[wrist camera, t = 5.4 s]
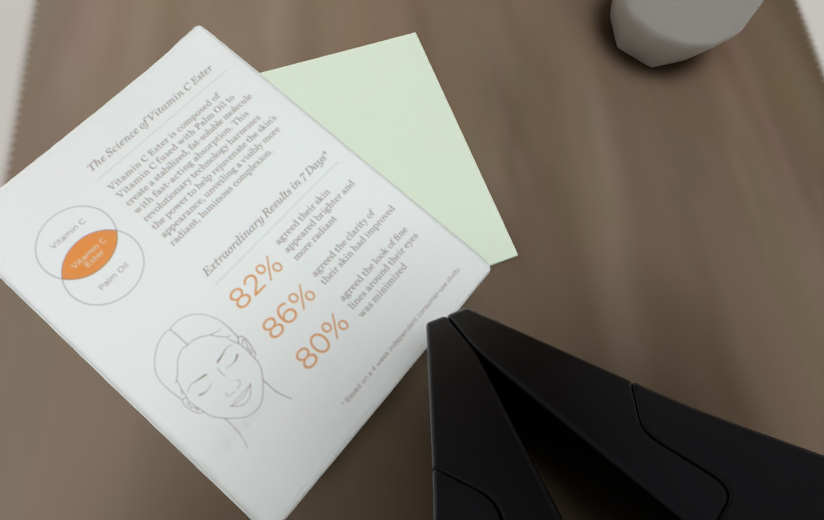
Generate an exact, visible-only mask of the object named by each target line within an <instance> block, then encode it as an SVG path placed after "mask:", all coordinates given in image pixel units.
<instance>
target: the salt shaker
mask: <svg viewBox="0 0 824 520" xmlns="http://www.w3.org/2000/svg"><path fill="white" fill-rule="evenodd" d="M763 1H764V0H612V5H611V12H610V19H611V23H612V27H613V32H614V36H615V40H616V45H617V48H619V49H620V50H622V51H624V52H625V53H627V54H629V55H630V56H632V57H634V58H635V59H637V60H639V61H641V62H642V63H644V64H646V65H647V66H649V67H651V68H652V67H657V66H661V65H666V64H671V63H675V62H680V61H684V60H687V59H689V58H691V57H693V56H695V55H698V54H700V53H702V52H704V51H706V50H709V49H711V48H713V47H715V46H717V45H719V44H721V43H724V42H726V41H728V40H730V39H731V38H733V37H734V36H735V35H737V34H738V33H739V32H741V31H742V29H743V28H744V27H745V25H746V24H747V23H748V21H749V20H750V19H751V17H752V16H753V14H754V13H755V12H756V10H757V9H758V8H759V6H760V5H761V3H762V2H763Z"/></svg>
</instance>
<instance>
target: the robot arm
mask: <svg viewBox="0 0 824 520" xmlns="http://www.w3.org/2000/svg"><path fill="white" fill-rule="evenodd" d="M426 334H427V357H428V380H429V402H430V425H431V448H432V469H433V474H432V478H433V516H434V520H824V455H821V454H818V453H815V452H812V451H810V450H807V449H804V448H801V447H798V446H796V445H793V444H790V443H787V442H784V441H782V440H779V439H776V438H773V437H770V436H768V435H765V434H762V433H759V432H756V431H753V430H751V429H748V428H745V427H742V426H739V425H737V424H734V423H731V422H729V421H726V420H723V419H721V418H718V417H715V416H713V415H710V414H707V413H705V412H702V411H699V410H697V409H694V408H692V407H689V406H687V405H685V404H682V403H680V402H678V401H675V400H673V399H670V398H668V397H666V396H663V395H661V394H659V393H656V392H654V391H652V390H649V389H647V388H645V387H643V386H641V385H638V384H636V383H633V384H632V385H631V382H630V381H629V380H627V379H624V378H622V377H620V376H618V375H615V374H613V373H611V372H609V371H607V370H604V369H602V368H600V367H598V366H595V365H593V364H591V363H589V362H586V361H584V360H582V359H580V358H577V357H575V356H573V355H571V354H568V353H566V352H564V351H562V350H560V349H557V348H555V347H553V346H551V345H548V344H546V343H544V342H542V341H539V340H537V339H535V338H533V337H530V336H528V335H526V334H524V333H521V332H519V331H517V330H515V329H513V328H510V327H508V326H506V325H504V324H501V323H499V322H497V321H495V320H492V319H490V318H488V317H486V316H483V315H481V314H479V313H477V312H474V311H472V310H470V309H466V308H465V309H461V310H459V311H456V312H453V313H451V314H449V315H448V316H447V317H440V318H438V319H435V320H432V321H430V322H428V323H427V325H426Z"/></svg>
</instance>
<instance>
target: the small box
mask: <svg viewBox="0 0 824 520" xmlns="http://www.w3.org/2000/svg"><path fill="white" fill-rule="evenodd" d="M489 272H490V266H489V264H488V263H487V261H486V260H485V259H484V258H483V257H481V256H480V255H479V254H478V253H477V252H476V251H474V250H473V249H472V248H471V247H470V246H468V245H467V244H466V243H465V242H464V241H462V240H461V239H460V238H458V237H457V236H456V235H455V234H454V233H452V232H451V231H450V230H449V229H448V228H446V227H445V226H444V225H443V224H441V223H440V222H439V221H438V220H436V219H435V218H434V217H433V216H432V215H430V214H429V213H428V212H427V211H425V210H424V209H423V208H422V207H420V206H419V205H418V204H417V203H416V202H414V201H413V200H412V199H411V198H410V197H408V196H407V195H406V194H405V193H404V192H402V191H401V190H400V189H399V188H397V187H396V186H395V185H394V184H393V183H392V182H390V181H389V180H388V179H386V178H385V177H384V176H383V175H382V174H380V173H379V172H378V171H377V170H375V169H374V168H373V167H372V166H370V165H369V164H368V163H367V162H365V161H364V160H363V159H362V158H361V157H359V156H358V155H357V154H356V153H355V152H353V151H352V150H351V149H350V148H349V147H347V146H346V145H345V144H344V143H343V142H341V141H340V140H339V139H338V138H337V137H335V136H334V135H333V134H332V133H331V132H329V131H328V130H327V129H326V128H325V127H323V126H322V125H321V124H320V123H319V122H317V121H316V120H315V119H314V118H313V117H311V116H310V115H309V114H308V113H306V112H305V111H304V110H303V109H302V108H301V107H299V106H298V105H297V104H296V103H295V102H293V101H292V100H291V99H290V98H288V97H287V96H286V95H285V94H284V93H283V92H281V91H280V90H279V89H278V88H277V87H276V86H274V85H273V84H272V83H271V82H270V81H268V80H267V79H266V78H265V77H264V76H262V75H261V74H260V73H259V72H258V71H257V70H255V69H254V68H253V67H251V66H250V65H249V64H248V63H247V62H245V61H244V60H243V59H242V58H240V57H239V56H238V55H237V54H235V53H234V52H233V51H232V50H231V49H229V48H228V47H227V46H226V45H225V44H224V43H222V42H221V41H220V40H218V39H217V38H216V37H215V36H214V35H213V34H211V33H210V32H208V31H207V30H206V29H204V28H203V27H201V26H196V27H194V28H193V29H192V30H191V31H190V32H189V33H188V34H187V35H186V36H185V37H183V38H182V39H181V40H180V41H179V42H178V43H177V44H175V45H174V46H173V48H172V49H171V50H170V51H169V52H168V53H167V54H165V55H164V56H163V57H162V58H161V59H160V60H158V61H157V62H156V63H155V64H154V65H153V66H151V67H150V68H149V69H148V70H147V71H146V72H144V73H143V74H142V75H140V76H139V77H138V78H137V79H135V80H134V81H133V82H132V83H131V84H129V85H128V86H127V87H126V88H125V89H123V90H122V91H121V92H120V93H119V94H117V95H116V96H115V97H114V98H112V99H111V100H110V101H109V102H107V103H106V104H105V105H104V106H103V107H102V108H100V109H99V110H98V111H97V112H95V113H94V114H93V115H91V116H90V117H89V118H87V119H86V120H85V121H84V122H82V123H81V124H80V125H79V126H78V127H76V128H75V129H74V130H73V131H71V132H70V133H69V134H67V135H66V136H65V137H64V138H63V139H62V140H60V141H59V142H58V143H56V144H55V145H54V146H53V147H52V148H50V149H49V150H48V151H47V152H45V153H44V154H43V155H41V156H40V157H39V158H38V159H36V160H35V161H34V162H33V163H31V164H30V165H29V166H27V167H26V168H25V169H24V170H23V171H21V172H20V173H19V174H18V175H16V176H15V177H14V178H13V179H11V180H10V181H9V182H8V183H6V184H5V185H4V186H2V187H1V188H0V278H1V279H2V280H3V281H4V282H5V283H6V284H7V285H8V286H9V287H10V288H11V289H12V290H13V291H14V292H15V293H16V294H17V295H18V296H20V297H21V298H22V299H23V300H24V301H25V302H26V303H27V304H28V305H29V306H30V307H31V308H32V309H33V310H34V311H35V312H36V313H37V314H38V315H39V316H40V317H42V318H43V319H44V320H45V321H46V322H47V323H48V324H49V325H50V326H51V327H52V328H53V329H54V330H55V331H56V332H57V333H58V334H59V335H60V336H61V337H62V338H63V339H64V340H65V341H66V342H67V343H68V344H69V345H70V346H71V347H72V348H73V349H74V350H75V351H76V352H77V353H78V354H79V355H80V356H81V357H82V358H83V359H85V360H86V361H87V362H88V363H89V364H90V365H91V366H92V367H93V368H94V369H95V370H96V371H97V372H98V373H99V374H100V375H101V376H102V377H103V378H104V379H105V380H106V381H107V382H108V383H109V384H110V385H111V386H112V387H113V388H114V389H116V390H117V391H118V392H119V393H120V394H121V395H122V396H123V397H124V398H125V399H126V400H127V401H128V402H129V403H130V404H131V405H132V406H133V407H134V408H135V409H137V410H138V411H139V412H140V413H141V414H142V415H143V416H144V417H145V418H146V419H147V420H148V421H149V422H150V423H151V424H152V425H153V426H154V427H155V428H156V429H157V430H158V431H159V432H160V433H161V434H162V435H164V436H165V437H166V438H167V439H168V440H169V441H170V442H171V443H172V444H173V445H174V446H175V447H176V448H177V449H178V450H179V451H180V452H181V453H183V454H184V455H185V456H186V457H187V458H188V459H189V460H190V461H191V462H192V463H193V464H194V465H195V466H196V467H197V468H198V469H199V470H200V471H201V472H202V473H203V474H204V475H205V476H206V477H207V478H208V479H210V480H211V481H212V482H213V483H214V484H215V485H216V486H217V487H218V488H219V489H220V490H221V491H222V492H223V493H224V494H225V495H226V496H227V497H228V498H229V499H230V500H231V501H233V502H234V503H235V504H236V505H237V506H238V507H239V508H240V509H241V510H242V511H243V512H244V513H245V514H246V515H247V516H248V517H249V518H250V519H251V520H285V519H286V518H287V517H288V516H289V515H290V513H291V512H292V511H293V510H294V509H295V507H296V506H297V505H298V504H299V503H300V501H301V500H302V499H303V498H304V497H305V495H306V494H307V493H308V492H309V490H310V489H311V488H312V487H313V486H314V484H315V483H316V482H317V481H318V479H319V478H320V477H321V476H322V475H323V473H324V472H325V471H326V470H327V469H328V467H329V466H330V465H331V464H332V463H333V461H334V460H335V459H336V458H337V457H338V455H339V454H340V453H341V452H342V451H343V449H344V448H345V447H346V446H347V445H348V443H349V442H350V441H351V440H352V439H353V437H354V436H355V435H356V434H357V433H358V431H359V430H360V429H361V428H362V426H363V425H364V424H365V423H366V422H367V420H368V419H369V418H370V417H371V416H372V414H373V413H374V412H375V411H376V409H377V408H378V407H379V406H380V405H381V403H382V402H383V401H384V400H385V399H386V397H387V396H388V395H389V394H390V393H391V391H392V390H393V389H394V388H395V386H396V385H397V384H398V383H399V382H400V380H401V379H402V378H403V377H404V375H405V374H406V373H407V372H408V371H409V369H410V368H411V367H412V366H413V364H414V363H415V362H416V361H417V360H418V358H419V357H420V356H421V355H422V354H423V352H424V351H425V350H426V349H427V334H426V325H427V323H428V322H430V321H432V320H435V319H438V318H440V317H447V316H448V315H449V314H451V313H453V312H456V311H458V310H459V309H460V308H461V306H462V305H463V304H464V303H465V302H466V300H467V299H468V298H469V297H470V295H471V294H472V293H473V292H474V290H475V289H476V288H477V287H478V286H479V284H480V283H481V282H482V281H483V279H484V278H485V277H486V276H487V275H488V274H489Z"/></svg>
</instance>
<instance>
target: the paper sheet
mask: <svg viewBox="0 0 824 520" xmlns="http://www.w3.org/2000/svg"><path fill="white" fill-rule="evenodd" d="M260 74H261V75H262V76H264V77H265V78H266V79H267V80H268V81H270V82H271V83H272V84H273V85H274V86H276V87H277V88H278V89H279V90H280V91H281V92H283V93H284V94H285V95H286V96H287V97H288V98H290V99H291V100H292V101H293V102H295V103H296V104H297V105H298V106H299V107H301V108H302V109H303V110H304V111H305V112H306V113H308V114H309V115H310V116H311V117H313V118H314V119H315V120H316V121H317V122H319V123H320V124H321V125H322V126H323V127H325V128H326V129H327V130H328V131H329V132H331V133H332V134H333V135H334V136H335V137H337V138H338V139H339V140H340V141H341V142H343V143H344V144H345V145H346V146H347V147H349V148H350V149H351V150H352V151H353V152H355V153H356V154H357V155H358V156H359V157H361V158H362V159H363V160H364V161H365V162H367V163H368V164H369V165H370V166H372V167H373V168H374V169H375V170H377V171H378V172H379V173H380V174H382V175H383V176H384V177H385V178H386V179H388V180H389V181H390V182H392V183H393V184H394V185H395V186H396V187H397V188H399V189H400V190H401V191H402V192H404V193H405V194H406V195H407V196H408V197H410V198H411V199H412V200H413V201H414V202H416V203H417V204H418V205H419V206H420V207H422V208H423V209H424V210H425V211H427V212H428V213H429V214H430V215H432V216H433V217H434V218H435V219H436V220H438V221H439V222H440V223H441V224H443V225H444V226H445V227H446V228H448V229H449V230H450V231H451V232H452V233H454V234H455V235H456V236H457V237H458V238H460V239H461V240H462V241H464V242H465V243H466V244H467V245H468V246H470V247H471V248H472V249H473V250H474V251H476V252H477V253H478V254H479V255H480V256H481V257H483V258H484V259H485V260H486V261H487V263H488V264H489V266H493V265H496V264H498V263H501V262H504V261H506V260H509V259H512V258H515V257H516V256H517V255H518V254H517V252H516V249H515V247H514V245H513V243H512V241H511V239H510V236H509V234H508V232H507V230H506V228H505V226H504V223H503V221H502V219H501V217H500V215H499V213H498V210H497V208H496V206H495V204H494V202H493V200H492V197H491V195H490V193H489V191H488V189H487V187H486V184H485V182H484V180H483V178H482V176H481V173H480V171H479V169H478V167H477V165H476V163H475V160H474V158H473V156H472V154H471V152H470V150H469V147H468V145H467V143H466V141H465V139H464V137H463V134H462V132H461V130H460V128H459V126H458V124H457V121H456V119H455V117H454V115H453V113H452V111H451V108H450V106H449V104H448V102H447V100H446V98H445V95H444V93H443V91H442V89H441V87H440V85H439V82H438V80H437V78H436V76H435V74H434V72H433V69H432V67H431V65H430V63H429V61H428V59H427V56H426V54H425V52H424V50H423V48H422V45H421V43H420V41H419V39H418V37H417V35H416V33H412V34H408V35H404V36H400V37H396V38H393V39H389V40H385V41H381V42H377V43H373V44H370V45H366V46H362V47H358V48H354V49H350V50H347V51H343V52H339V53H335V54H331V55H327V56H324V57H320V58H316V59H312V60H308V61H304V62H300V63H297V64H293V65H289V66H285V67H281V68H277V69H274V70H270V71H266V72H262V73H260Z"/></svg>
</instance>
